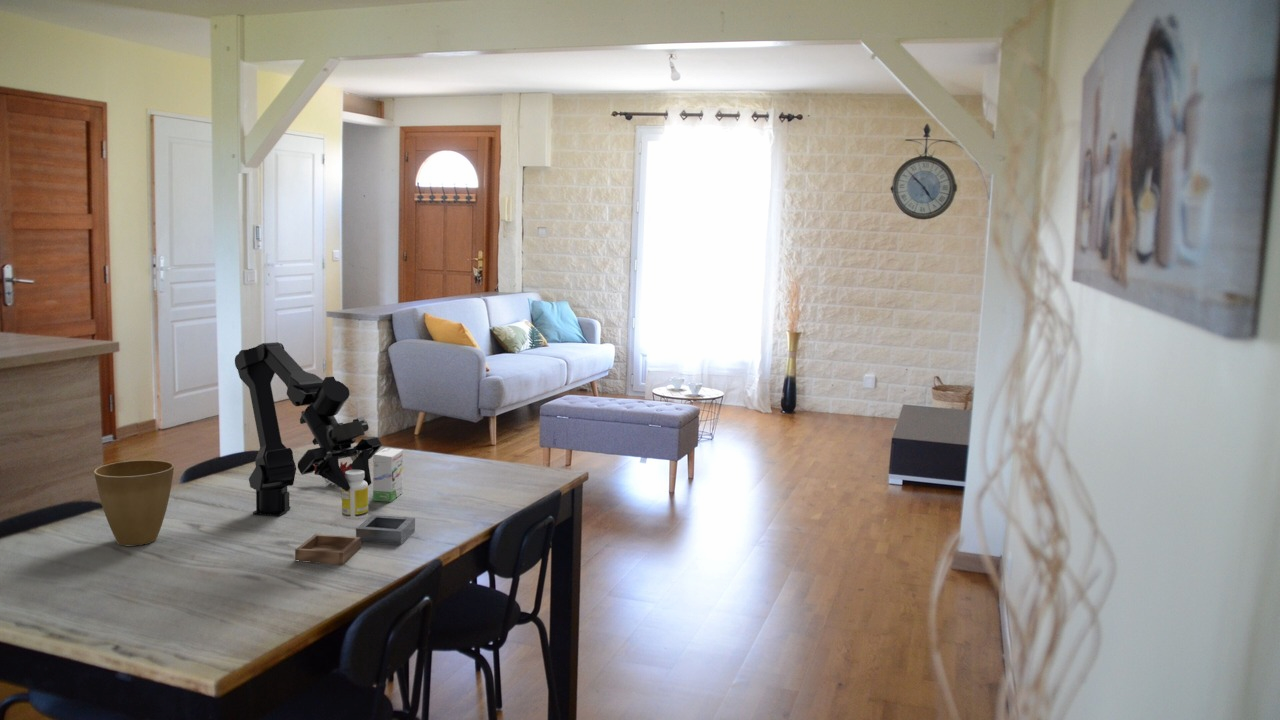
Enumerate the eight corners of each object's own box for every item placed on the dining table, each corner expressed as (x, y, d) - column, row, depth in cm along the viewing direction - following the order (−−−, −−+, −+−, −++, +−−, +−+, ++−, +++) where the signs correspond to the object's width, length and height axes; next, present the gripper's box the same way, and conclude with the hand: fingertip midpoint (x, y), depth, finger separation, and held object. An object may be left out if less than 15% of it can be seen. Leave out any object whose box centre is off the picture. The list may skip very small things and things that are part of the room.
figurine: (375, 482, 258) (375, 458, 257) (352, 493, 247) (352, 468, 246) (325, 476, 262) (325, 452, 261) (300, 487, 251) (300, 462, 250)
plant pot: (191, 534, 211) (189, 463, 209) (139, 556, 197) (136, 479, 194) (134, 526, 215) (132, 455, 212) (79, 546, 200) (76, 471, 198)
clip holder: (356, 541, 211) (356, 528, 211) (371, 527, 221) (372, 515, 221) (400, 544, 210) (401, 531, 210) (414, 530, 220) (415, 517, 220)
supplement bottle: (370, 512, 210) (370, 468, 209) (365, 520, 205) (364, 475, 203) (345, 511, 210) (345, 468, 208) (339, 519, 205) (338, 474, 203)
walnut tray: (295, 561, 198) (295, 549, 197) (315, 545, 208) (315, 534, 207) (343, 564, 197) (343, 552, 197) (360, 548, 207) (360, 537, 207)
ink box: (391, 502, 241) (391, 456, 239) (372, 500, 242) (372, 454, 240) (403, 493, 249) (403, 448, 248) (384, 491, 250) (385, 447, 248)
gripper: (306, 412, 198) (342, 474, 194) (376, 400, 214) (411, 458, 210) (282, 443, 204) (316, 504, 199) (352, 429, 219) (385, 486, 215)
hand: (359, 487), depth 206 cm, fingers closed on supplement bottle, 5 cm apart
